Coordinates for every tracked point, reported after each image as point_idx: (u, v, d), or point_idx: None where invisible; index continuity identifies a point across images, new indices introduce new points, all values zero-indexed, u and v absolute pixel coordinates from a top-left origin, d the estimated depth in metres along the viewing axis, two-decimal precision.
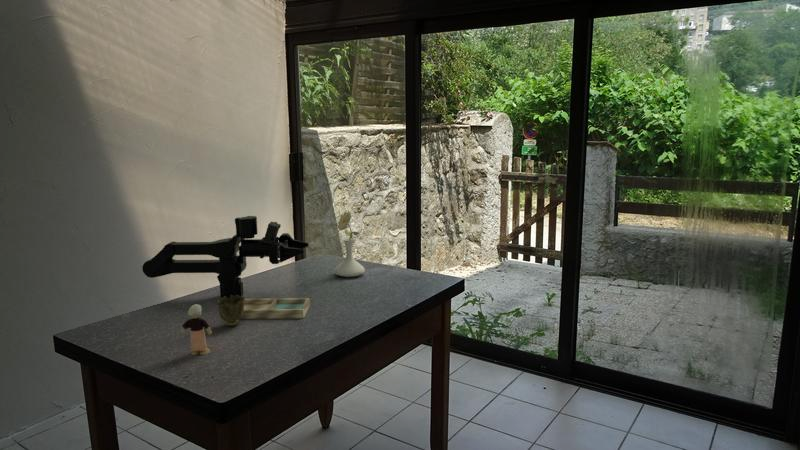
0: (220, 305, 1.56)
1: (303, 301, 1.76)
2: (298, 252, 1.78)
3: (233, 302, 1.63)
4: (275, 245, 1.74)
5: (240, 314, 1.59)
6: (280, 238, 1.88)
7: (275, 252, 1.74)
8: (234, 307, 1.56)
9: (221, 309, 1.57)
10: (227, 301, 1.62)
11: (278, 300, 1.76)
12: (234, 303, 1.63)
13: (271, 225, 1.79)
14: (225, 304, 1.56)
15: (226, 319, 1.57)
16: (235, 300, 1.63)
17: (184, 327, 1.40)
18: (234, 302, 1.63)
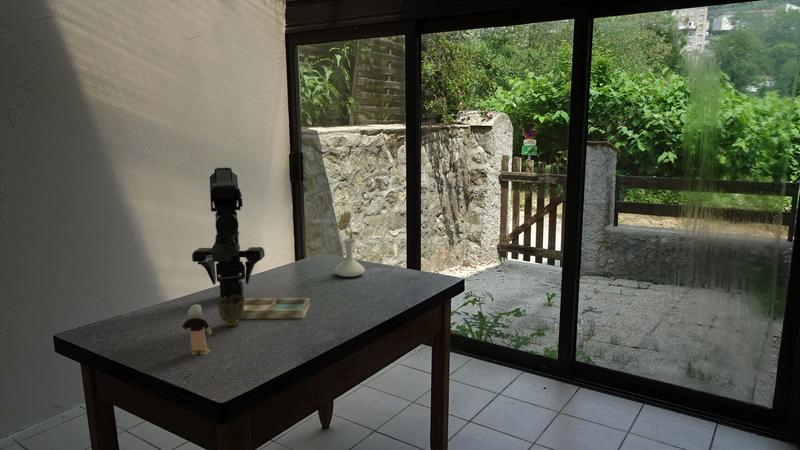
0: (220, 305, 1.56)
1: (303, 301, 1.76)
2: None
3: (233, 302, 1.63)
4: (193, 259, 1.54)
5: (240, 314, 1.59)
6: None
7: None
8: (234, 307, 1.56)
9: (221, 309, 1.57)
10: (227, 301, 1.62)
11: (278, 300, 1.76)
12: (234, 303, 1.63)
13: (211, 254, 1.49)
14: (225, 304, 1.56)
15: (226, 319, 1.57)
16: (235, 300, 1.63)
17: (184, 327, 1.40)
18: (234, 302, 1.63)
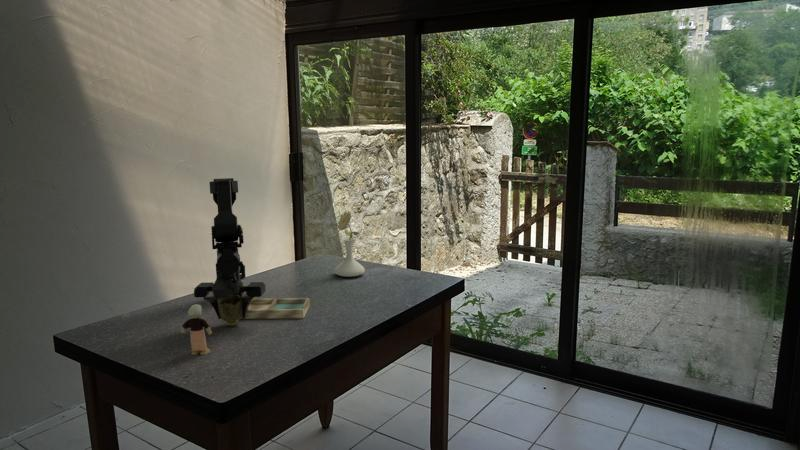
0: (220, 305, 1.56)
1: (303, 301, 1.76)
2: None
3: (233, 302, 1.63)
4: (195, 295, 1.56)
5: (240, 314, 1.59)
6: None
7: None
8: (234, 307, 1.56)
9: (221, 309, 1.57)
10: (227, 301, 1.62)
11: (278, 300, 1.76)
12: (234, 303, 1.63)
13: (213, 291, 1.50)
14: (225, 304, 1.56)
15: (226, 319, 1.57)
16: (235, 300, 1.63)
17: (184, 327, 1.40)
18: (234, 302, 1.63)
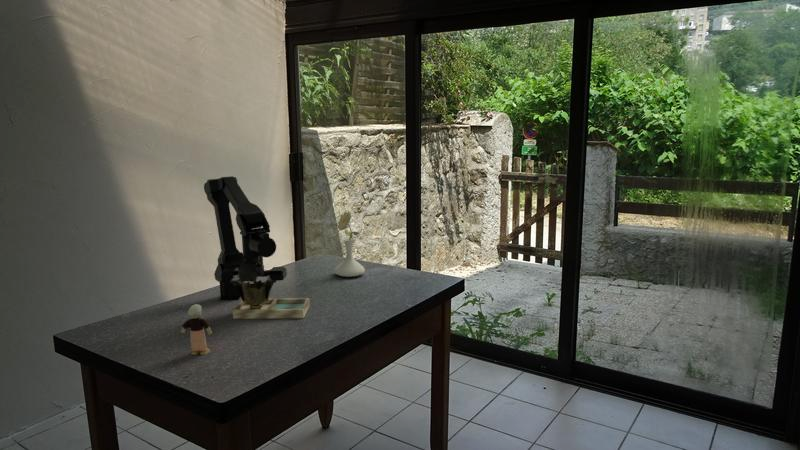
0: (245, 289, 1.67)
1: (303, 301, 1.76)
2: None
3: (256, 287, 1.73)
4: (221, 278, 1.66)
5: (263, 298, 1.69)
6: None
7: None
8: (258, 291, 1.67)
9: (246, 293, 1.67)
10: (250, 286, 1.73)
11: (278, 300, 1.76)
12: (257, 288, 1.73)
13: (239, 275, 1.61)
14: (250, 288, 1.66)
15: (250, 303, 1.68)
16: (258, 285, 1.73)
17: (184, 327, 1.40)
18: (257, 287, 1.73)
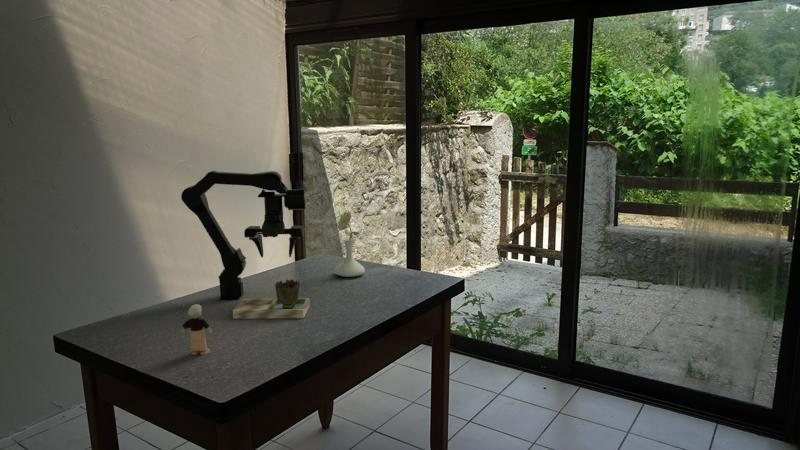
0: (278, 289, 1.67)
1: (303, 301, 1.76)
2: None
3: (288, 287, 1.73)
4: (245, 235, 1.81)
5: (296, 297, 1.69)
6: (290, 230, 1.82)
7: None
8: (291, 290, 1.67)
9: (279, 292, 1.67)
10: (282, 285, 1.73)
11: None
12: (289, 287, 1.73)
13: (262, 230, 1.76)
14: (283, 288, 1.66)
15: (283, 302, 1.68)
16: (290, 284, 1.73)
17: (184, 327, 1.40)
18: (289, 286, 1.73)
